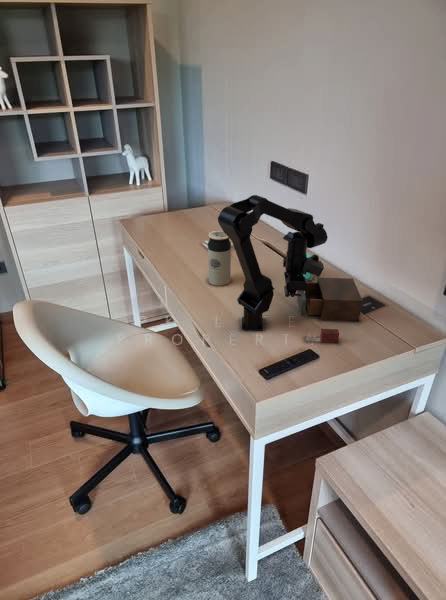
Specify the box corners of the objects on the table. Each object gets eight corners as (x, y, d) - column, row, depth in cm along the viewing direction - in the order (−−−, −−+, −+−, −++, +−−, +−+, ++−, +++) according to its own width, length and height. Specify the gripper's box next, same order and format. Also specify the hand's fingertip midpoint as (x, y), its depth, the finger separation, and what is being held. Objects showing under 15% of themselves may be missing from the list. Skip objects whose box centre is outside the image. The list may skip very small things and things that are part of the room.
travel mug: (218, 274, 160) (217, 228, 151) (234, 280, 156) (235, 233, 147) (204, 281, 155) (203, 235, 146) (220, 288, 151) (220, 240, 141)
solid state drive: (385, 306, 141) (385, 304, 141) (364, 315, 136) (364, 313, 136) (368, 297, 146) (368, 295, 146) (347, 305, 141) (348, 303, 141)
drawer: (284, 315, 133) (286, 299, 130) (282, 294, 145) (283, 279, 142) (334, 317, 133) (337, 301, 130) (328, 296, 144) (330, 280, 141)
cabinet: (320, 320, 133) (323, 299, 129) (314, 297, 145) (317, 277, 142) (358, 321, 132) (362, 300, 128) (349, 298, 145) (352, 278, 141)
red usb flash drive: (336, 338, 124) (338, 329, 123) (337, 343, 122) (339, 333, 121) (306, 337, 125) (307, 328, 123) (306, 342, 123) (308, 332, 121)
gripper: (328, 265, 121) (321, 312, 129) (319, 240, 137) (314, 283, 145) (288, 264, 122) (284, 311, 129) (284, 239, 138) (281, 282, 146)
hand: (292, 296), depth 137 cm, fingers closed, pressing on drawer
